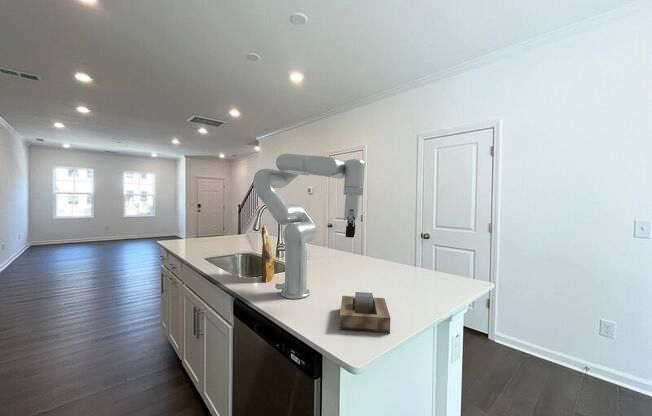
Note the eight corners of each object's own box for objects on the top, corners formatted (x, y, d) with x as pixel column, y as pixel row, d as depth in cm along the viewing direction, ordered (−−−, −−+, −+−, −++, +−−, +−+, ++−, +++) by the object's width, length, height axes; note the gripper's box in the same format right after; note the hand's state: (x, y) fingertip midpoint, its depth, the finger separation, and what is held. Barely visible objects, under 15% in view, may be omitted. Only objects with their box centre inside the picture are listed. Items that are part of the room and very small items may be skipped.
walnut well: (339, 330, 90) (339, 314, 90) (341, 308, 108) (342, 295, 108) (390, 333, 89) (390, 318, 89) (384, 311, 107) (384, 298, 106)
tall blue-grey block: (354, 319, 97) (355, 296, 96) (354, 313, 101) (355, 291, 101) (372, 320, 96) (373, 297, 96) (371, 314, 100) (372, 292, 100)
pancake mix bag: (256, 283, 137) (257, 226, 137) (263, 273, 157) (264, 223, 156) (270, 283, 138) (271, 226, 137) (275, 273, 157) (276, 223, 156)
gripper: (345, 191, 118) (342, 231, 119) (341, 190, 101) (338, 237, 102) (363, 192, 117) (360, 233, 118) (362, 192, 100) (359, 239, 101)
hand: (350, 235), depth 110 cm, fingers open, 9 cm apart
